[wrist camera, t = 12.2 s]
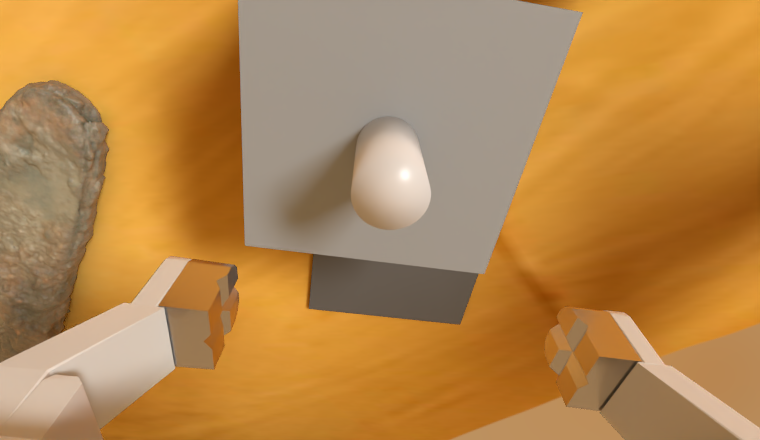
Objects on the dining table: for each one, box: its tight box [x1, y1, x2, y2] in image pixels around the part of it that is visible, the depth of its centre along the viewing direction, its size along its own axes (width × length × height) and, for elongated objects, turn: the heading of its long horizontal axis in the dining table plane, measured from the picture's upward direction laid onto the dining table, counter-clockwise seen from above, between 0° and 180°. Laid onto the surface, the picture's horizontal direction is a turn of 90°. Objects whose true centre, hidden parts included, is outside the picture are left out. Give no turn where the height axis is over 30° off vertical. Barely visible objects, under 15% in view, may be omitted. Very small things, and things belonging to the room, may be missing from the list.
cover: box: [238, 0, 583, 274], centre depth 22 cm, size 14×14×17 cm
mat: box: [309, 254, 479, 324], centre depth 37 cm, size 16×16×1 cm
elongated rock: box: [0, 80, 109, 363], centre depth 36 cm, size 35×5×10 cm
